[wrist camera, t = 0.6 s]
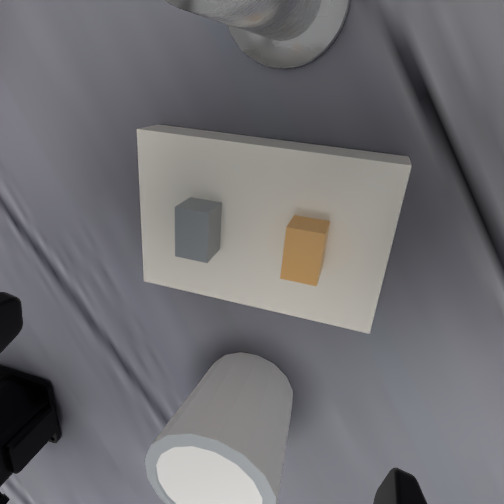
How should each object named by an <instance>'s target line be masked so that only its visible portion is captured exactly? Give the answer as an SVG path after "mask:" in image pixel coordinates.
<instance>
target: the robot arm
mask: <svg viewBox="0 0 504 504" xmlns="http://www.w3.org/2000/svg"><path fill="white" fill-rule="evenodd" d="M22 326H23V318H22V307H21V301H20V299H19V298H17V297H15V296H13V295H11V294H8V293H5V292H0V353H1V352H2V351H3V350H4V349H5V348H6V347H7V346H8V345H9V343H10V342H11V341H12V340H13V339H14V338H15V337H16V336H17V335H18V334H19V332H20V331H21V329H22ZM60 438H61V436H60V430H59V425H58V420H57V414H56V409H55V403H54V398H53V393H52V387H51V385H50V383H49V382H47V381H45V380H42V379H39V378H36V377H33V376H30V375H27V374H23V373H20V372H17V371H14V370H11V369H8V368H5V367H2V366H0V486H1V485H2V484H3V483H4V482H5V481H6V480H7V479H8V478H9V477H10V476H11V475H12V474H13V473H15V474H17V473H19V472H20V471H21V470H22V469H23V468H24V467H25V466H26V465H27V464H28V463H29V462H30V460H31V459H32V458H33V457H34V456H35V455H36V454H37V453H38V452H39V451H40V450H41V448H42V447H43V446H44V445H45V444H46V443H47V442H48V441H49V442H52V443H57V442H58V440H59V439H60ZM8 501H9V498H8V497H7V496H6V495H5V494H2V493H1V492H0V504H7V502H8ZM373 504H427V502H426V500H425V497H424V495H423V493H422V491H421V488H420V486H419V484H418V482H417V480H416V478H415V477H414V476H413V475H411V474H409V473H407V472H405V471H403V470H401V469H398V468H393V469H391V470H390V472H389V473H388V475H387V476H386V478H385V479H384V481H383V482H382V484H381V485H380V487H379V488H378V490H377V492H376V495H375V498H374V503H373Z"/></svg>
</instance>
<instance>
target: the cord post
mask: <svg viewBox="0 0 504 504" xmlns="http://www.w3.org/2000/svg"><path fill="white" fill-rule="evenodd" d="M165 1H167V2H168V3H170V4H171V5H173V6H175V7H177V8H180V9H183V10H186V11H189V12H192V13H195V14H198V15H201V16H203V17H206V18H209V19H212V20H215V21H218V22H221V23H224V24H227V26H228V28H229V31H230V33H231V35H232V37H233V39H234V41H235V42H236V44H237V45H238V46H239V48H240V49H241V50H242V51H243V52H244V53H245V54H246V55H247V56H248V57H250V58H251V59H253V60H254V61H256V62H258V63H260V64H262V65H265V66H268V67H273V68H296V67H299V66H303V65H305V64H307V63H310V62H312V61H313V60H315V59H317V58H318V57H319V56H321V55H322V54H323V53H324V52H325V51H326V50H327V49H328V48H329V47H330V46H331V45H332V43H333V42H334V41H335V40H336V38H337V36H338V35H339V33H340V31H341V29H342V27H343V25H344V23H345V20H346V17H347V14H348V10H349V5H350V0H165Z"/></svg>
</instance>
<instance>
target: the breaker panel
mask: <svg viewBox="0 0 504 504" xmlns="http://www.w3.org/2000/svg"><path fill="white" fill-rule="evenodd" d="M137 146H138V167H139V188H140V210H141V231H142V252H143V273H144V281H145V282H150V283H154V284H158V285H162V286H167V287H171V288H175V289H180V290H184V291H188V292H192V293H197V294H201V295H205V296H210V297H214V298H218V299H222V300H227V301H231V302H235V303H240V304H244V305H248V306H253V307H257V308H261V309H265V310H270V311H274V312H278V313H283V314H287V315H291V316H295V317H300V318H304V319H308V320H313V321H317V322H321V323H325V324H330V325H334V326H338V327H343V328H347V329H351V330H355V331H360V332H364V333H368V334H370V330H371V326H372V322H373V318H374V314H375V310H376V306H377V302H378V298H379V294H380V290H381V286H382V282H383V278H384V274H385V270H386V266H387V262H388V258H389V254H390V250H391V246H392V242H393V238H394V234H395V230H396V226H397V222H398V218H399V214H400V210H401V206H402V203H403V199H404V195H405V191H406V187H407V183H408V179H409V175H410V171H411V167H412V165H411V162H410V159H409V156H402V155H394V154H386V153H378V152H370V151H363V150H355V149H347V148H339V147H331V146H324V145H316V144H308V143H300V142H292V141H284V140H277V139H269V138H261V137H253V136H245V135H238V134H230V133H222V132H214V131H206V130H199V129H191V128H183V127H175V126H167V125H160V124H158V125H153V126H148V127H144V128H139V129H137Z"/></svg>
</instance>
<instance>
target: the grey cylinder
mask: <svg viewBox="0 0 504 504" xmlns="http://www.w3.org/2000/svg"><path fill="white" fill-rule="evenodd" d="M292 403H293V390H292V388H291V385H290V383H289V381H288V379H287V377H286V376H285V375H284V373H283V372H282V371H281V370H280V369H279V368H278V367H277V366H276V365H275V364H273V363H271V362H270V361H268V360H266V359H264V358H262V357H260V356H258V355H253V354H248V353H243V352H239V353H233V354H227V355H224V356H223V357H221V358H220V359H219V360H217V361H216V362H214V364H213V365H212V366H211V367H210V369H209V370H208V371H207V373H206V374H205V375H204V377H203V378H202V379H201V380H200V382H199V383H198V384H197V386H196V387H195V388H194V390H193V391H192V392H191V393H190V395H189V396H188V397H187V399H186V400H185V401H184V403H183V404H182V405H181V407H180V408H179V409H178V410H177V412H176V413H175V414H174V416H173V417H172V418H171V420H170V421H169V422H168V423H167V425H166V426H165V427H164V429H163V430H162V431H161V433H160V434H159V435H158V436H157V438H156V439H155V440H154V442H153V443H152V444H151V446H150V448H149V451H148V453H147V456H146V458H145V466H146V472H147V478H148V480H149V482H150V483H151V485H152V487H153V488H154V490H155V491H156V493H157V495H158V496H159V498H160V499H161V500H162V501H163V502H164V503H166V504H278V498H279V491H280V484H281V478H282V471H283V464H284V458H285V451H286V444H287V438H288V431H289V424H290V418H291V411H292Z"/></svg>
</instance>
